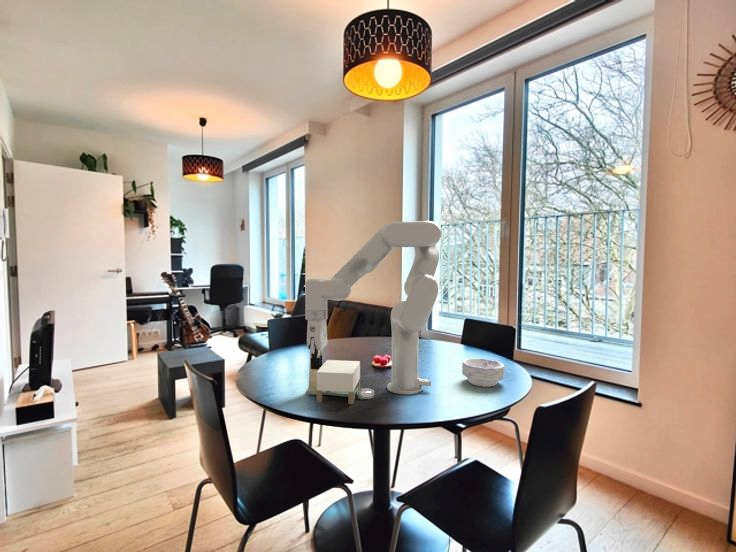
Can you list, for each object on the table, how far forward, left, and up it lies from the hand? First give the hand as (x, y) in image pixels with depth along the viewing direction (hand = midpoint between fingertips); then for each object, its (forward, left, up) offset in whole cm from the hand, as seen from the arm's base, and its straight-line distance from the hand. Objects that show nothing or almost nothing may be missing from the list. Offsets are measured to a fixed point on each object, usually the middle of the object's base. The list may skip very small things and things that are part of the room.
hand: (316, 367), depth 133 cm
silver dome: (-17, 0, -9) cm, 19 cm away
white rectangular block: (-8, 0, -9) cm, 12 cm away
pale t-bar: (-5, 0, -9) cm, 10 cm away
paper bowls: (-59, -20, -10) cm, 63 cm away
